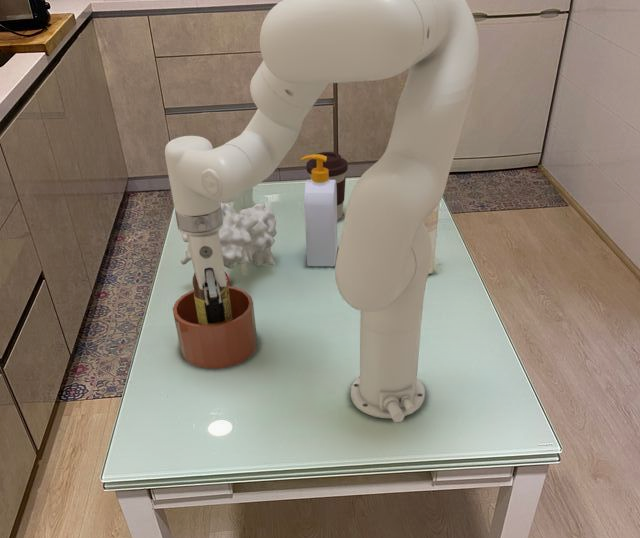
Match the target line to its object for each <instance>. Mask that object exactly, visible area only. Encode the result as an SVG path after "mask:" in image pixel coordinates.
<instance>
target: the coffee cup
mask: <svg viewBox="0 0 640 538" xmlns="http://www.w3.org/2000/svg"><path fill="white" fill-rule="evenodd" d="M316 154H320V155H324V156H327V159H326V162H324V161H323V167H324V168H327V169H328V170H329V180H336V185H337V221H339V220H340V219H341V218H342V217H343V215H344V202H345V197H346V196H345V195H346V181H347V180H346V178H347V177H346V172H347V171H348V167H349V164H348V161H347V160H346V159H345V158H344V157H342V156H341V154H339V153H337V152H335V151H321V152H318V153H316ZM314 168H317V160H316V159H308V161H307V162H306V172H307V173H308V176H309V177H308V180H312V171H311V170H312V169H314Z"/></svg>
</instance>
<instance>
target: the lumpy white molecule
mask: <svg viewBox="0 0 640 538" xmlns="http://www.w3.org/2000/svg"><path fill="white" fill-rule="evenodd" d="M254 204H255V205H254V206H253V207H252V208H247V209H242V210H241V211H240V213H239V214H237V213H236V212H235V210H234V208H233V207H232V205H230V204H226V203H221V210H222V218H223V226H222V228H221V229H220V230H218V232H219V237H220V242H221V248H222V255H223V261H224V267H226V268H228V269H229V270H234V268H235V264H239V265H245V264H249V262H252V261H253V263H254V264H255V266H256V267H258V268H260V267H262V265H265V264H266V265H269V266H274V265H275V260H274V258H273V257H274V256H273V252H272V249H271V248H272V246H273V245H274V244H275V241H276V240H275V239H274V238H275V237H276V235H277V233H278V232H277V229H276V226H277V219H276V216H275V212H274V211H273V210H270V209H269V208H266V205H265V204H264V203H254ZM265 208H266V209H265ZM181 237H182V241H183V243H188V240H187V235H186V234H183V233H181ZM184 254H185V255H184V256H183V257H181V259H180V264H181V265H183V266H184V265H186V264H187V263H189V262H190V261H192V260H191V255H190V250H189V245H188V244H187V250H186V251H185V253H184ZM194 273H195V271H194ZM194 273H193V274H194ZM225 274H226V280H227V282H228V286H230V281H231V280H230V277H229V274H228V273H227V272H226V271H225Z"/></svg>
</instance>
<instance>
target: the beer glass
mask: <svg viewBox="0 0 640 538" xmlns="http://www.w3.org/2000/svg"><path fill="white" fill-rule="evenodd" d="M255 204H256V203H255V201H254V187H253V188H252V189H250V190H249V191H248V192H246V193H245V194H244V195H242V196H241V197H239V198H238V199H236V200H234V201H233V202H232V205H231V206H232V207H233V208H234V210H235V212H236V213H237V214H239V213H240V211H241V210H242V209H247V208H252V207H253V206H254V205H255Z"/></svg>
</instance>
